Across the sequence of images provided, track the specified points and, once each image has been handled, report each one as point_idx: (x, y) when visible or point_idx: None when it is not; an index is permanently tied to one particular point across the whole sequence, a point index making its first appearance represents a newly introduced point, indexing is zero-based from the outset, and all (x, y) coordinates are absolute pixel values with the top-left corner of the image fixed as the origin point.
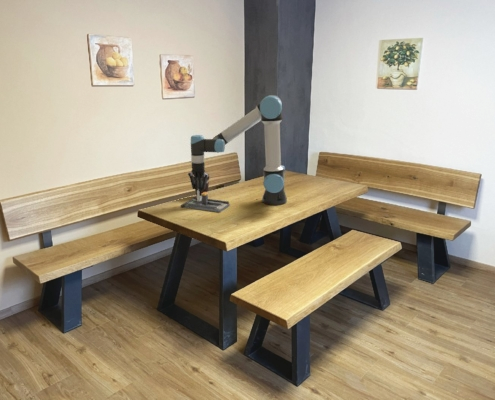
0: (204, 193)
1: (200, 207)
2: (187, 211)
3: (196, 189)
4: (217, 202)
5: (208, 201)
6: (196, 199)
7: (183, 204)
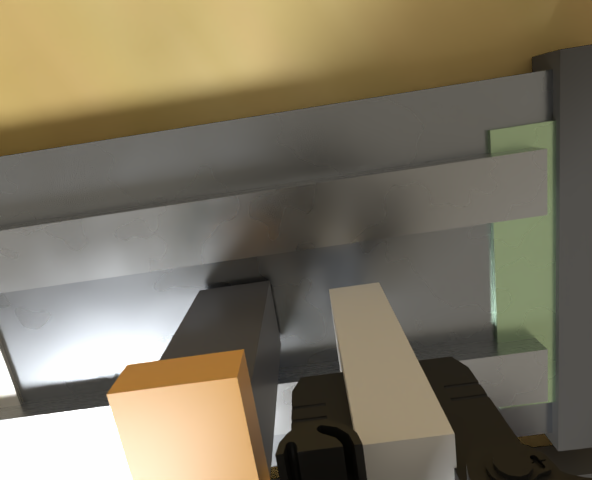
0: (158, 426)
1: (206, 142)
2: None
3: (492, 471)
4: (82, 446)
5: None
6: None
7: (586, 88)
